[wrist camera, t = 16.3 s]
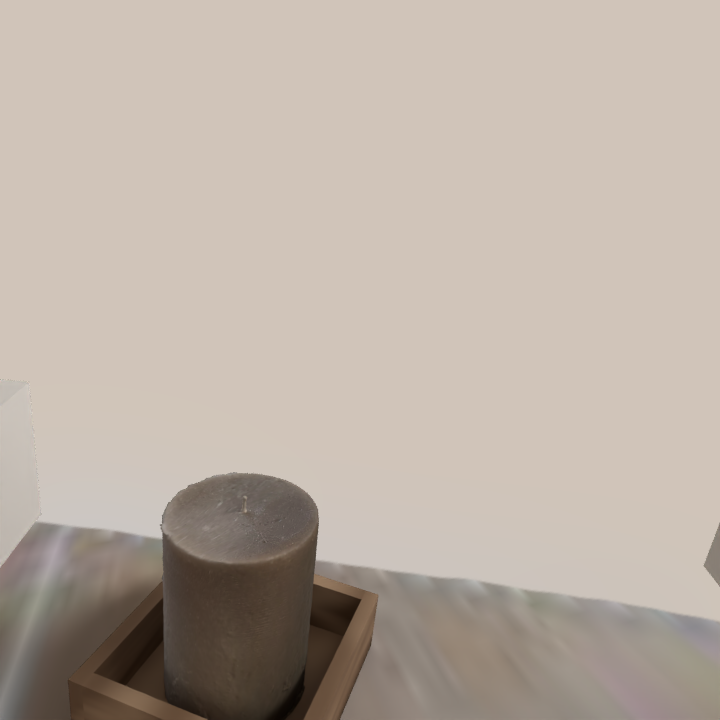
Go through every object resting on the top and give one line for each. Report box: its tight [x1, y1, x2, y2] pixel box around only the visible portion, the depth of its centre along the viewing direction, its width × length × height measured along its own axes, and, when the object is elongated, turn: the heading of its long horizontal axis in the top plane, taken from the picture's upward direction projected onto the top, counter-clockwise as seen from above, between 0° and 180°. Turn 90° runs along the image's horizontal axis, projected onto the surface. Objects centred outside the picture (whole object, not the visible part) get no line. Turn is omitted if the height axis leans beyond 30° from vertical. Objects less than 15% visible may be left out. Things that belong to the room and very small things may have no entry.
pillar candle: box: [160, 473, 319, 720], centre depth 41 cm, size 10×10×15 cm
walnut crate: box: [68, 574, 378, 720], centre depth 43 cm, size 15×15×5 cm
